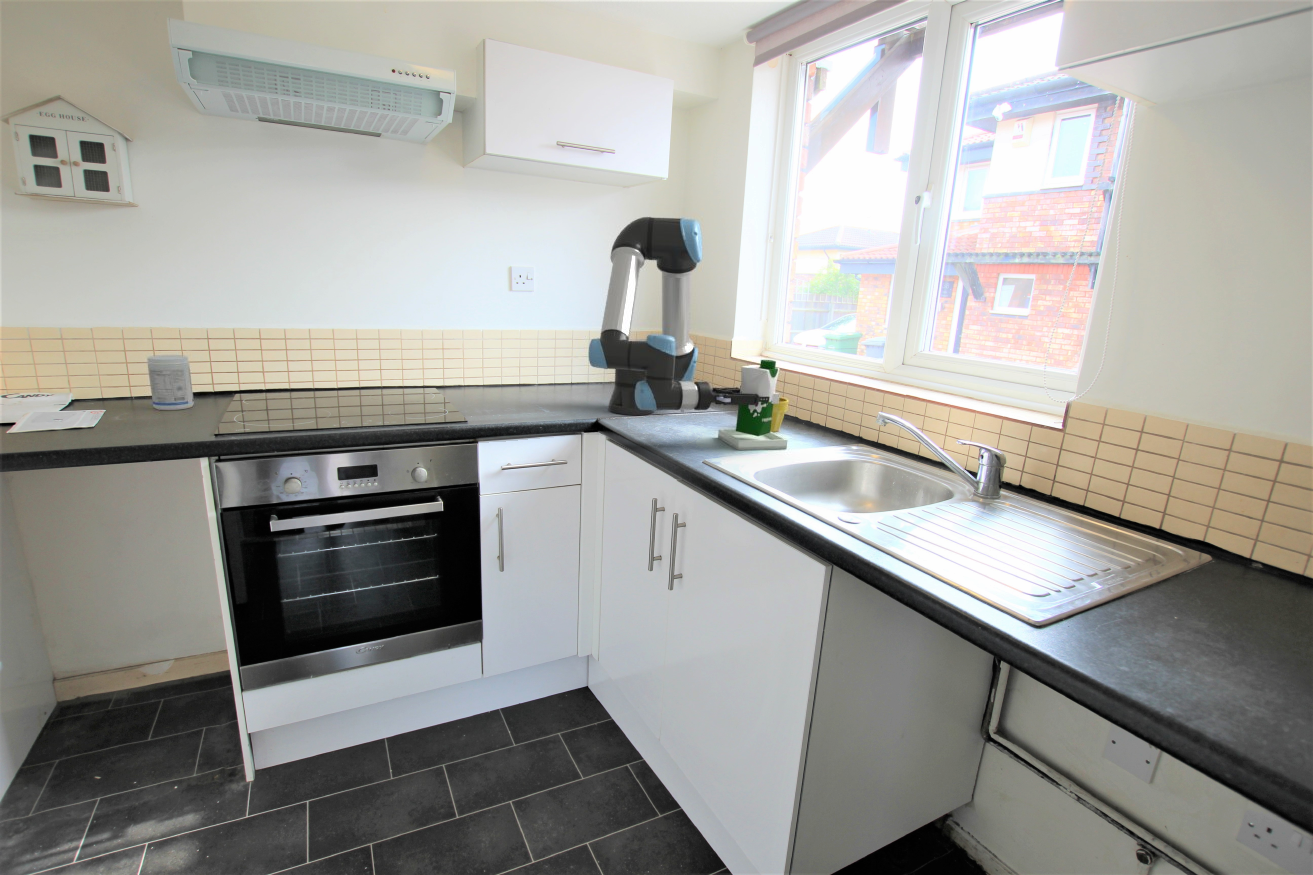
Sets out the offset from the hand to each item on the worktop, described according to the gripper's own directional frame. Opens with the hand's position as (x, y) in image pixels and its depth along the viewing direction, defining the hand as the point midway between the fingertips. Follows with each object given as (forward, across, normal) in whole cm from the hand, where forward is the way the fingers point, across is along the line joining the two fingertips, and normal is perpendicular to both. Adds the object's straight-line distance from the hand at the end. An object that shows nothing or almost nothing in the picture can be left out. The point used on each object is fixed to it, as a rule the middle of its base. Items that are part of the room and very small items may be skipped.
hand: (772, 396), depth 179 cm
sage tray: (-5, 0, -13) cm, 14 cm away
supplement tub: (-160, -57, -14) cm, 171 cm away
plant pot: (+8, -16, -13) cm, 22 cm away
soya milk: (-5, 0, -10) cm, 11 cm away
